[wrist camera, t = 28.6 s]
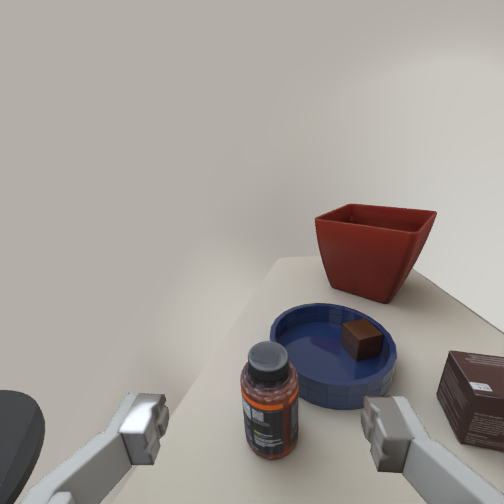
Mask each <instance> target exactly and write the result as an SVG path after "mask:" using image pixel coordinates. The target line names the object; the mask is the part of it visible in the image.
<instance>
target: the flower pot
mask: <svg viewBox="0 0 504 504" xmlns="http://www.w3.org/2000/svg"><path fill="white" fill-rule="evenodd" d="M436 215H437V212H436V211H428V210H418V209H407V208H396V207H385V206H372V205H362V204H347V205H345V206H343V207H340V208H338V209H336V210H333V211H331V212H328V213H326V214H323V215H321V216H319V217H316V218H315V226H316V234H317V240H318V245H319V250H320V254H321V258H322V262H323V265H324V268H325V271H326V274H327V277H328V280H329V282H330V285H331V286H332V287H334V288H337V289H340V290H343V291H346V292H349V293H352V294H356V295H359V296H362V297H365V298H368V299H371V300H374V301H378V302H381V303H389V302H390V301H391V300H392V298H393V297H394V296H395V294H396V293H397V291H398V290H399V288H400V287H401V285H402V284H403V283H404V281H405V279H406V278H407V276H408V275H409V273H410V271H411V269H412V268H413V266H414V264H415V262H416V260H417V258H418V257H419V254H420V253H421V251H422V248H423V246H424V244H425V242H426V240H427V238H428V235H429V233H430V231H431V228H432V226H433V223H434V220H435V217H436Z"/></svg>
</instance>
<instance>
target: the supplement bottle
mask: <svg viewBox="0 0 504 504" xmlns="http://www.w3.org/2000/svg"><path fill="white" fill-rule="evenodd" d="M241 392H242V402H243V412H244V422H245V432H246V438H247V441H248V443H249V445H250V447H251V448H252V450H253V451H254V452H256V453H257V454H258V455H259V456H262V457H264V458H267V459H278V458H281V457H283V456H285V455H287V454H288V453H289V452H290V451H291V450H292V449H293V448H294V446H295V444H296V441H297V437H298V375H297V372H296V369H295V368H294V366H293V364H292V363H291V362H290V361H289V360H288V353H287V350H286V349H285V348H284V347H283V346H282V345H280V344H278V343H276V342H271V341H265V342H260V343H258V344H256V345H254V346H253V347H252V348H251V349H250V351H249V353H248V362H247V363H246V365H245V366H244V368H243V370H242V373H241Z"/></svg>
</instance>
